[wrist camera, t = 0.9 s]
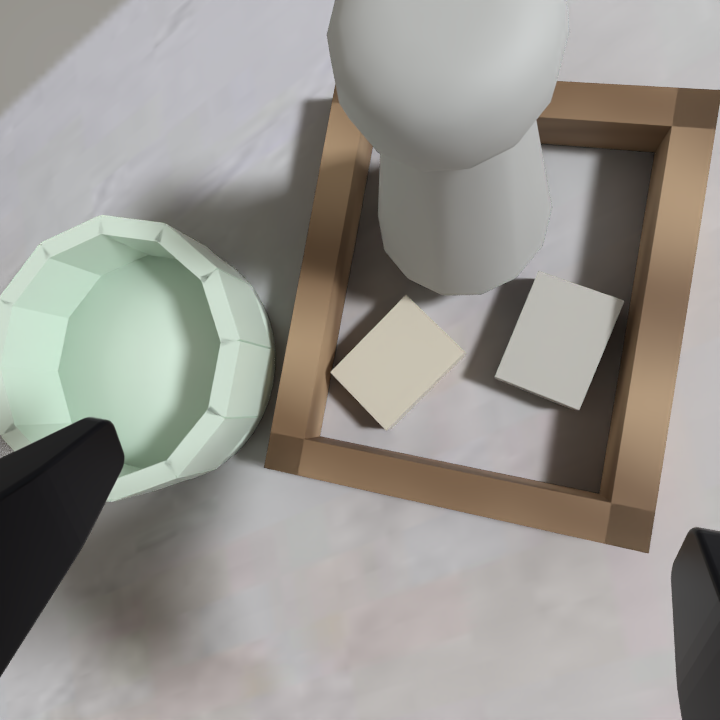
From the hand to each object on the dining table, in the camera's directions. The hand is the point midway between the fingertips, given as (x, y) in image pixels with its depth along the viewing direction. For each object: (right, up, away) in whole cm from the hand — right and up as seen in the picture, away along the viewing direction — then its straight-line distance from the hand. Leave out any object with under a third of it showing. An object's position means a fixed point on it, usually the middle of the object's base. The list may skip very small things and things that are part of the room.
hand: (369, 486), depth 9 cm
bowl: (-8, +2, +15) cm, 18 cm away
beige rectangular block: (+1, +2, +14) cm, 14 cm away
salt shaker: (+4, +7, +13) cm, 15 cm away
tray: (+4, +4, +13) cm, 14 cm away
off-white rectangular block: (+7, +3, +13) cm, 15 cm away
